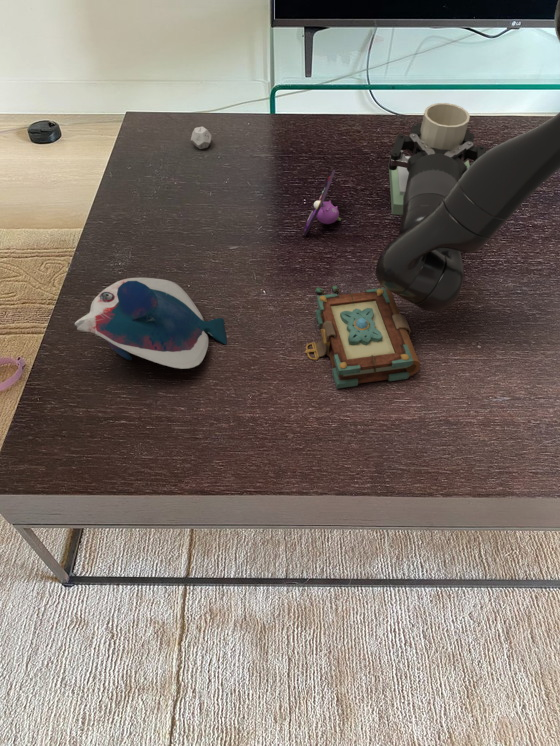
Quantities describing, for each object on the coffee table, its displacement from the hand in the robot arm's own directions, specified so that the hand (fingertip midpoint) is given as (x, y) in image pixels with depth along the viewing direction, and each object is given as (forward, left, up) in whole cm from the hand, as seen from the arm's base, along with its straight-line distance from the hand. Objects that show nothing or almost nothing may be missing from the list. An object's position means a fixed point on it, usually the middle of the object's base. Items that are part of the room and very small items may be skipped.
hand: (442, 131), depth 96 cm
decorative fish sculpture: (+38, +38, -9) cm, 55 cm away
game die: (+39, -7, -9) cm, 41 cm away
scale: (0, +3, -9) cm, 9 cm away
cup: (0, +2, -6) cm, 6 cm away
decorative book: (+13, +35, -9) cm, 38 cm away
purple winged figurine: (+17, +12, -9) cm, 23 cm away
